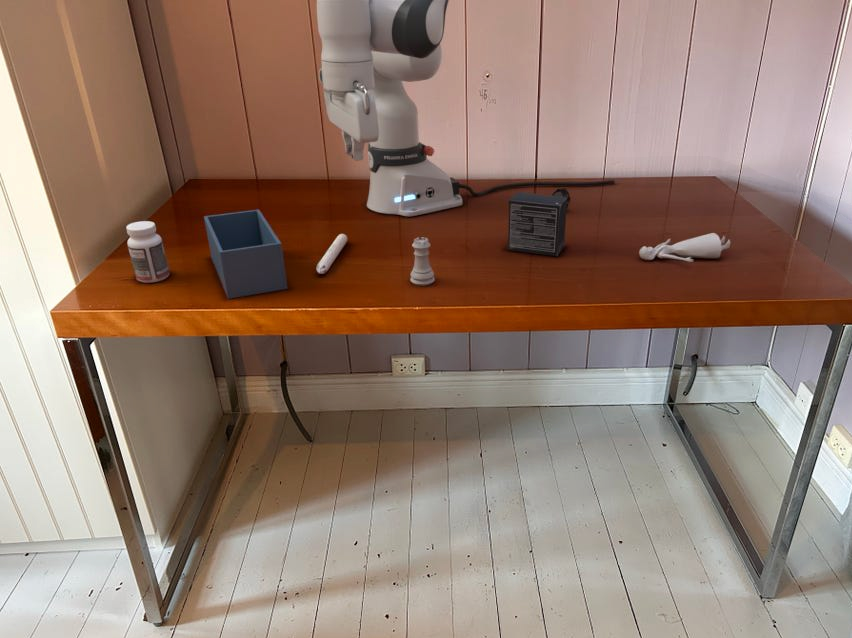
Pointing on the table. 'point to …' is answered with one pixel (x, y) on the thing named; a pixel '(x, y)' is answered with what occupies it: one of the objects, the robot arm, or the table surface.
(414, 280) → the rook chess piece
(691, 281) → the table surface
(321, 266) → the marker
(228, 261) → the blue box
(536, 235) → the small box
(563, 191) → the smartwatch
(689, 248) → the woman figurine
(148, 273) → the pill bottle
